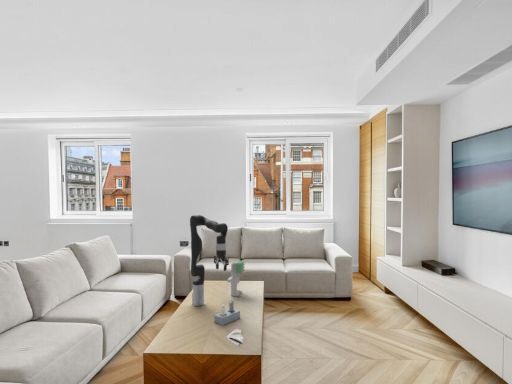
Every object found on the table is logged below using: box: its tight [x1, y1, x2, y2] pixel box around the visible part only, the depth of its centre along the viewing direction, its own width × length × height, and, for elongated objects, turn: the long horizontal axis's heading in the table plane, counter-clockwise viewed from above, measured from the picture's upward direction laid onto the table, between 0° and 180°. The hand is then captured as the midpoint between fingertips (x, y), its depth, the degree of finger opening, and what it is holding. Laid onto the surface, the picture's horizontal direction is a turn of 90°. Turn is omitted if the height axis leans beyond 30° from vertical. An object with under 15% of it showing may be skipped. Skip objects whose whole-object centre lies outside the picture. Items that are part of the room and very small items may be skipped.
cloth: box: [225, 328, 244, 348], centre depth 209 cm, size 26×14×2 cm, turn 173°
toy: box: [226, 260, 245, 297], centre depth 295 cm, size 30×10×30 cm, turn 167°
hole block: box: [213, 308, 241, 326], centre depth 237 cm, size 9×18×5 cm, turn 140°
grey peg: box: [228, 300, 235, 313], centre depth 241 cm, size 3×3×12 cm
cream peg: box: [220, 304, 226, 316], centre depth 234 cm, size 3×3×12 cm
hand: (221, 269), depth 249 cm, fingers open, 8 cm apart
